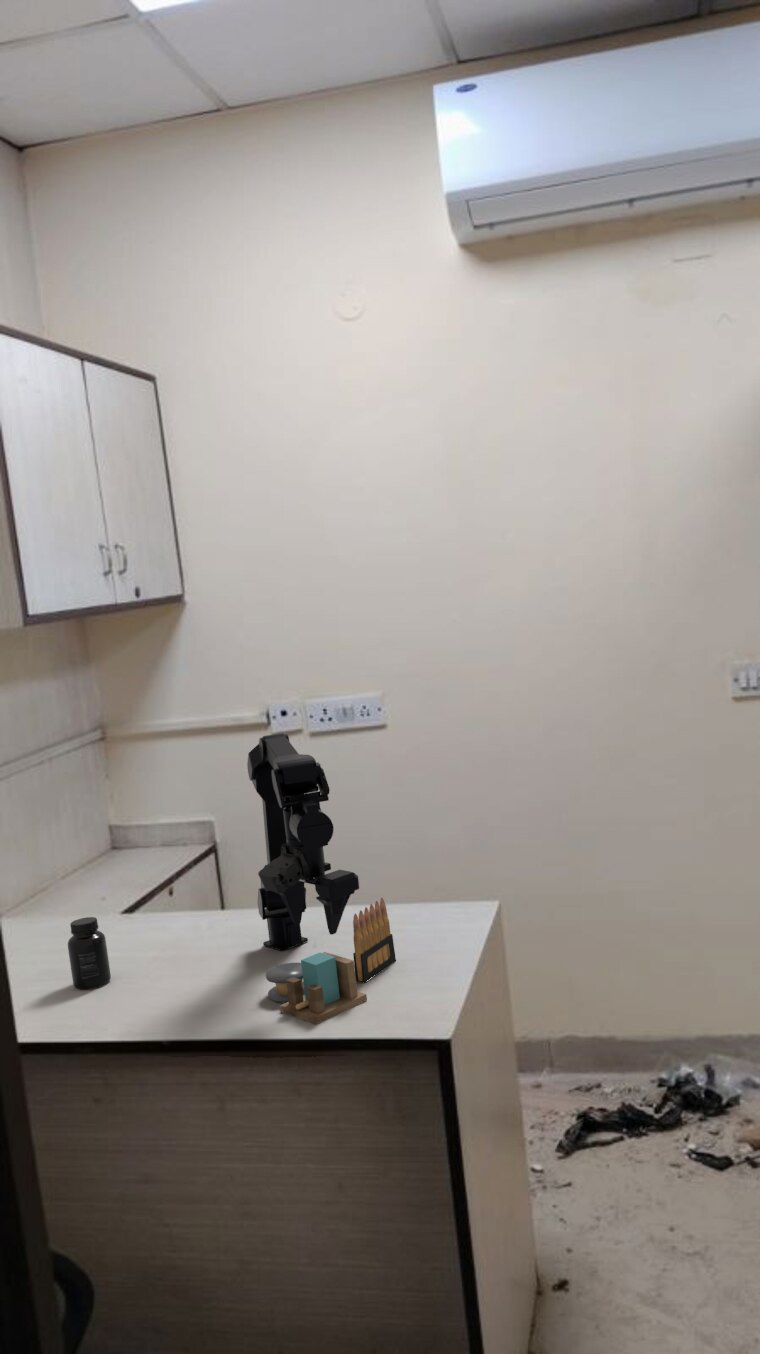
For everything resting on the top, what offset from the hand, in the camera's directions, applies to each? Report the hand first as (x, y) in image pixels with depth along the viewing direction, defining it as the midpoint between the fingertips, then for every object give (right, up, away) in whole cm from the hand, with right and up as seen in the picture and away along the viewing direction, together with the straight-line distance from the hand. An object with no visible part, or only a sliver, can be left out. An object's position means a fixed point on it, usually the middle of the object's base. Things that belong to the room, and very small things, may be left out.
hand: (314, 928), depth 168 cm
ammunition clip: (+10, -11, +14) cm, 20 cm away
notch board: (+1, -13, +1) cm, 13 cm away
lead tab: (0, -12, 0) cm, 12 cm away
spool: (-5, -13, +8) cm, 16 cm away
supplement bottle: (-43, -16, +23) cm, 51 cm away
